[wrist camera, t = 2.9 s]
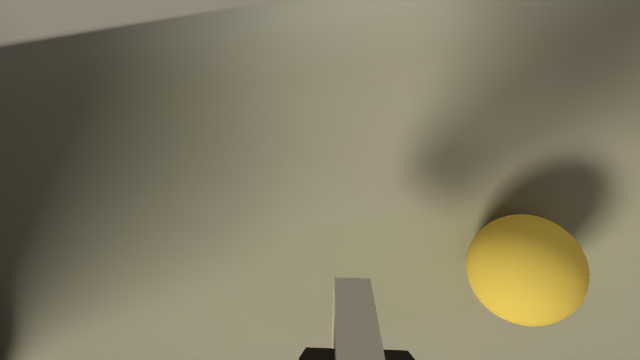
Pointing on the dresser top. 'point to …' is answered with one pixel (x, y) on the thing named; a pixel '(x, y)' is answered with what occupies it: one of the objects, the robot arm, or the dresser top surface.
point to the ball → (527, 270)
